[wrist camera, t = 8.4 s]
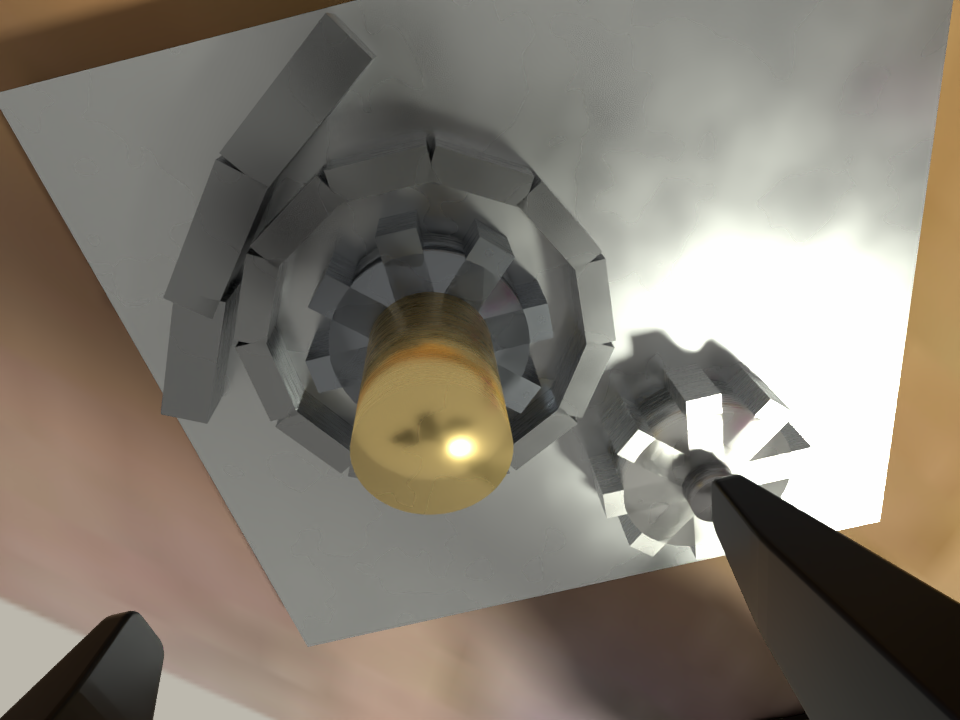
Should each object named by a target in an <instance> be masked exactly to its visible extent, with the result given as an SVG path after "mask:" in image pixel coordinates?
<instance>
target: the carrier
mask: <svg viewBox="0 0 960 720" xmlns="http://www.w3.org/2000/svg"><path fill="white" fill-rule="evenodd" d="M952 4H953V0H355V1H351V2H347V3H343V4H339V5H336V6H332V7H328V8H324V9H320V10H316V11H312V12H308V13H305V14H301V15H297V16H293V17H289V18H285V19H281V20H278V21H274V22H270V23H266V24H262V25H258V26H254V27H250V28H247V29H243V30H239V31H235V32H231V33H227V34H223V35H219V36H216V37H212V38H208V39H204V40H200V41H196V42H192V43H189V44H185V45H181V46H177V47H173V48H169V49H165V50H161V51H158V52H154V53H150V54H146V55H142V56H138V57H134V58H130V59H127V60H123V61H119V62H115V63H111V64H107V65H103V66H100V67H96V68H92V69H88V70H84V71H80V72H76V73H72V74H69V75H65V76H61V77H57V78H53V79H49V80H45V81H41V82H38V83H34V84H30V85H26V86H22V87H18V88H14V89H11V90H7V91H3V92H0V109H1V111H2V112H3V114H4V116H5V118H6V119H7V121H8V123H9V125H10V126H11V128H12V130H13V132H14V133H15V135H16V137H17V139H18V140H19V142H20V144H21V146H22V147H23V149H24V151H25V153H26V154H27V156H28V158H29V160H30V161H31V163H32V165H33V167H34V168H35V170H36V172H37V174H38V175H39V177H40V179H41V181H42V182H43V184H44V186H45V188H46V189H47V191H48V193H49V195H50V196H51V198H52V200H53V202H54V203H55V205H56V207H57V209H58V210H59V212H60V214H61V216H62V217H63V219H64V221H65V223H66V224H67V226H68V228H69V230H70V231H71V233H72V235H73V237H74V238H75V240H76V242H77V244H78V245H79V247H80V249H81V251H82V252H83V254H84V256H85V258H86V259H87V261H88V263H89V265H90V266H91V268H92V270H93V272H94V273H95V275H96V277H97V279H98V280H99V282H100V284H101V286H102V287H103V289H104V291H105V293H106V294H107V296H108V298H109V300H110V301H111V303H112V305H113V307H114V308H115V310H116V312H117V314H118V315H119V317H120V319H121V321H122V322H123V324H124V326H125V328H126V329H127V331H128V333H129V335H130V336H131V338H132V340H133V342H134V343H135V345H136V347H137V349H138V350H139V352H140V354H141V356H142V357H143V359H144V361H145V363H146V364H147V366H148V368H149V370H150V371H151V373H152V375H153V377H154V378H155V380H156V382H157V384H158V385H159V387H160V389H161V391H162V392H163V398H162V407H161V414H162V415H167V416H172V417H176V418H177V419H178V420H179V422H180V424H181V426H182V427H183V429H184V431H185V433H186V434H187V436H188V438H189V440H190V441H191V443H192V445H193V447H194V448H195V450H196V452H197V454H198V455H199V457H200V459H201V461H202V462H203V464H204V466H205V468H206V469H207V471H208V473H209V475H210V476H211V478H212V480H213V482H214V483H215V485H216V487H217V489H218V490H219V492H220V494H221V496H222V497H223V499H224V501H225V503H226V504H227V506H228V508H229V510H230V511H231V513H232V515H233V517H234V518H235V520H236V522H237V524H238V525H239V527H240V529H241V531H242V532H243V534H244V536H245V538H246V539H247V541H248V543H249V545H250V546H251V548H252V550H253V552H254V553H255V555H256V557H257V559H258V560H259V562H260V564H261V566H262V567H263V569H264V571H265V573H266V574H267V576H268V578H269V580H270V581H271V583H272V585H273V587H274V588H275V590H276V592H277V594H278V595H279V597H280V599H281V601H282V602H283V604H284V606H285V608H286V609H287V611H288V613H289V615H290V616H291V618H292V620H293V622H294V623H295V625H296V627H297V629H298V630H299V632H300V634H301V636H302V637H303V639H304V641H305V643H306V644H307V646H308V647H309V646H314V645H318V644H323V643H327V642H332V641H336V640H341V639H346V638H350V637H355V636H359V635H364V634H368V633H373V632H377V631H382V630H387V629H391V628H396V627H400V626H405V625H409V624H414V623H418V622H423V621H428V620H432V619H437V618H441V617H446V616H450V615H455V614H459V613H464V612H469V611H473V610H478V609H482V608H487V607H491V606H496V605H500V604H505V603H510V602H514V601H519V600H523V599H528V598H532V597H537V596H541V595H546V594H551V593H555V592H560V591H564V590H569V589H573V588H578V587H582V586H587V585H591V584H596V583H601V582H605V581H610V580H614V579H619V578H623V577H628V576H632V575H637V574H642V573H646V572H651V571H655V570H660V569H664V568H669V567H673V566H678V565H683V564H687V563H692V562H696V561H701V560H705V559H710V558H714V557H719V556H724V555H725V553H724V551H723V548H722V546H721V544H720V542H719V539H718V537H717V535H716V532H715V529H714V525H713V521H712V503H711V484H712V481H713V480H714V479H716V478H720V477H725V476H729V475H734V474H739V475H743V476H745V477H746V478H748V479H750V480H751V481H753V482H755V483H756V484H758V485H760V486H762V487H763V488H765V489H767V490H768V491H770V492H772V493H773V494H775V495H777V496H779V497H780V498H782V499H784V500H785V501H787V502H789V503H790V504H792V505H794V506H796V507H797V508H799V509H801V510H802V511H804V512H806V513H807V514H809V515H811V516H813V517H814V518H816V519H818V520H819V521H821V522H823V523H824V524H826V525H828V526H829V527H831V528H833V529H835V530H836V531H837V530H842V529H846V528H851V527H856V526H860V525H865V524H869V523H874V522H878V521H880V515H881V508H882V501H883V494H884V487H885V480H886V473H887V466H888V458H889V451H890V444H891V437H892V430H893V423H894V416H895V409H896V402H897V395H898V387H899V380H900V373H901V366H902V359H903V352H904V345H905V338H906V331H907V324H908V316H909V309H910V302H911V295H912V288H913V281H914V274H915V267H916V260H917V253H918V245H919V238H920V231H921V224H922V217H923V210H924V203H925V196H926V189H927V182H928V174H929V167H930V160H931V153H932V146H933V139H934V132H935V125H936V118H937V111H938V103H939V96H940V89H941V82H942V75H943V68H944V61H945V54H946V47H947V40H948V32H949V25H950V18H951V11H952ZM412 210H417V212H418V216H419V219H420V223H421V227H422V230H423V234H425V233H433V234H444V235H449V236H454V237H457V238H460V239H462V238H463V237H464V235H465V234H466V232H467V230H468V229H469V227H470V226H471V224H472V222H473V221H474V219H475V218H476V219H477V220H479V221H481V222H482V223H484V224H486V225H487V226H489V227H491V228H492V229H494V230H496V231H497V232H499V233H500V234H502V235H504V236H505V237H507V239H508V242H509V244H510V247H511V249H512V252H513V254H514V257H515V258H514V259H513V261H512V262H511V264H510V265H509V266H508V268H507V269H506V272H507V273H508V275H509V277H510V278H511V280H512V282H513V284H514V286H516V285H521V284H525V283H529V282H533V281H538V283H539V285H540V287H541V290H542V292H543V294H544V296H545V299H546V301H547V303H548V308H549V313H550V319H551V324H552V329H553V335H554V338H550V339H546V340H541V341H537V342H533V343H530V349H529V355H528V357H529V358H531V359H532V360H533V363H534V366H535V369H536V372H537V375H538V378H539V381H540V384H541V388H540V389H539V391H538V392H537V393H536V395H535V396H534V397H533V399H532V400H531V401H530V403H529V404H528V405H527V406H526V408H525V409H524V410H523V412H522V413H519V412H517V411H515V410H513V409H511V408H508V407H506V410H507V414H508V419H509V423H510V428H511V433H512V438H513V457H512V461H511V464H510V468H509V470H508V472H507V474H506V476H505V477H504V479H503V480H502V482H501V483H500V484H499V485H498V487H497V488H496V489H495V490H494V491H493V492H491V493H490V494H489V495H488V496H487V497H485V498H484V499H482V500H481V501H479V502H477V503H475V504H474V505H472V506H469V507H467V508H464V509H462V510H458V511H455V512H450V513H445V514H435V515H425V514H415V513H409V512H405V511H401V510H398V509H396V508H393V507H391V506H389V505H386V504H384V503H383V502H381V501H380V500H378V499H376V498H375V497H374V496H373V495H372V494H370V493H369V492H368V491H367V490H366V489H365V488H364V487H363V485H362V484H361V482H360V481H359V480H358V478H357V476H356V474H355V472H354V470H353V466H352V463H351V458H350V443H351V437H352V432H353V426H354V420H355V415H356V409H357V404H356V403H355V402H354V401H353V400H352V399H351V398H350V397H349V396H348V395H347V393H346V392H345V391H344V389H343V388H338V389H334V390H330V391H326V392H322V393H318V390H317V388H316V386H315V383H314V381H313V379H312V376H311V374H310V372H309V369H308V367H307V364H306V362H305V360H306V358H307V355H308V352H309V349H310V346H311V344H312V341H313V338H314V335H315V334H317V333H321V332H325V331H329V330H330V325H331V321H332V319H330V318H328V317H326V316H324V315H322V314H320V313H318V312H316V311H314V310H312V309H310V308H308V305H309V303H310V300H311V298H312V296H313V293H314V291H315V288H316V286H317V283H318V282H319V280H320V278H321V276H322V274H323V272H324V270H325V269H326V267H327V265H328V263H329V261H330V259H331V257H332V256H333V254H334V253H335V254H337V255H339V256H341V257H343V258H345V259H347V260H348V261H350V262H352V263H354V264H356V265H357V264H358V263H359V262H360V260H361V259H363V258H364V257H365V256H366V255H367V254H369V253H370V252H371V251H373V250H374V249H376V248H377V247H378V246H377V243H376V240H375V234H376V230H377V226H378V221H379V219H380V218H384V217H388V216H392V215H396V214H400V213H404V212H408V211H412Z"/></svg>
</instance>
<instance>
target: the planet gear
mask: <svg viewBox="0 0 960 720" xmlns="http://www.w3.org/2000/svg"><path fill="white" fill-rule="evenodd" d="M375 240H376V243H377V246H378V247H377V248H376V249H374V250H373V251H371V252H370V253H369V254H367V255H366V256H365V257H364V258H363V259H361V260H360V262H359V263H358V264H357V265H356V264H354V263H352V262H350V261H348V260H347V259H345V258H343V257H341V256H339V255H337V254H335V253H334V254H333V256H332V257H331V259H330V261H329V263H328V265H327V267H326V269H325V270H324V272H323V274H322V276H321V278H320V280H319V282H318V283H317V286H316V288H315V291H314V293H313V296H312V298H311V300H310V303H309V305H308V308H310V309H312V310H314V311H316V312H318V313H320V314H322V315H324V316H326V317H328V318H330V319H332V321H331V325H330V330H329V331H325V332H321V333H317V334H315V335H314V338H313V341H312V344H311V346H310V349H309V352H308V355H307V358H306V360H305V362H306V364H307V367H308V369H309V372H310V374H311V376H312V379H313V381H314V383H315V386H316V388H317V390H318V393H322V392H326V391H330V390H334V389H338V388H343V389H344V391H345V392H346V393H347V395H348V396H349V397H350V398H351V399H352V400H353V401H354V402H355V403H356V404H357V409H356V415H355V420H354V426H353V432H352V437H351V443H350V458H351V463H352V466H353V470H354V472H355V474H356V476H357V478H358V480H359V481H360V482H361V484H362V485H363V487H364V488H365V489H366V490H367V491H368V492H369V493H370V494H372V495H373V496H374V497H375V498H376V499H378V500H380V501H381V502H383V503H384V504H386V505H389V506H391V507H393V508H396V509H398V510H401V511H405V512H409V513H415V514H425V515H435V514H445V513H450V512H455V511H458V510H462V509H464V508H467V507H469V506H472V505H474V504H475V503H477V502H479V501H481V500H482V499H484V498H485V497H487V496H488V495H489V494H490V493H491V492H493V491H494V490H495V489H496V488H497V487H498V485H499V484H500V483H501V482H502V480H503V479H504V477H505V476H506V474H507V472H508V470H509V468H510V464H511V461H512V457H513V438H512V433H511V428H510V423H509V419H508V414H507V410H506V407H508V408H511V409H513V410H515V411H517V412H519V413H522V412H523V410H524V409H525V408H526V406H527V405H528V404H529V403H530V401H531V400H532V399H533V397H534V396H535V395H536V393H537V392H538V391H539V389H540V388H541V384H540V381H539V378H538V375H537V372H536V369H535V366H534V363H533V360H532V359H531V358H529V357H528V355H529V349H530V343H533V342H537V341H541V340H546V339H550V338H554V335H553V329H552V324H551V319H550V313H549V308H548V303H547V301H546V299H545V296H544V294H543V292H542V290H541V287H540V285H539V283H538V281H533V282H529V283H525V284H521V285H516V286H514V284H513V282H512V280H511V278H510V277H509V275H508V273H507V272H506V269H507V268H508V266H509V265H510V264H511V262H512V261H513V259H514V258H515V257H514V254H513V252H512V249H511V247H510V244H509V242H508V239H507V237H505V236H504V235H502V234H500V233H499V232H497V231H496V230H494V229H492V228H491V227H489V226H487V225H486V224H484V223H482V222H481V221H479V220H477V219H476V218H475V219H474V221H473V222H472V224H471V226H470V227H469V229H468V230H467V232H466V234H465V235H464V237H463V238H462V239H460V238H457V237H454V236H449V235H444V234H433V233H425V234H423V230H422V227H421V223H420V219H419V216H418V212H417V210H412V211H408V212H404V213H400V214H396V215H392V216H388V217H384V218H380V219H379V221H378V226H377V230H376V234H375Z"/></svg>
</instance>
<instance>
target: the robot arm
mask: <svg viewBox="0 0 960 720" xmlns="http://www.w3.org/2000/svg"><path fill="white" fill-rule="evenodd" d="M711 503H712V521H713V525H714V529H715V532H716V535H717V537H718V539H719V542H720V544H721V546H722V548H723V551H724V553H725V555H726V557H727V560H728V562H729V564H730V567H731V569H732V571H733V573H734V576H735V578H736V580H737V583H738V585H739V587H740V589H741V592H742V594H743V596H744V598H745V601H746V603H747V605H748V608H749V610H750V612H751V614H752V616H753V619H754V621H755V623H756V625H757V627H758V629H759V631H760V633H761V635H762V637H763V639H764V640H765V642H766V644H767V646H768V648H769V649H770V651H771V653H772V655H773V656H774V658H775V660H776V661H777V663H778V665H779V667H780V668H781V670H782V672H783V674H784V675H785V677H786V679H787V681H788V682H789V684H790V686H791V688H792V689H793V691H794V693H795V694H796V696H797V698H798V700H799V701H800V703H801V705H802V707H803V708H804V710H805V712H806V714H802V715H797V716H793V717H788V718H783V719H778V720H960V603H959V602H957V601H955V600H953V599H952V598H950V597H948V596H947V595H945V594H943V593H942V592H940V591H938V590H936V589H935V588H933V587H931V586H930V585H928V584H926V583H925V582H923V581H921V580H919V579H918V578H916V577H914V576H913V575H911V574H909V573H908V572H906V571H904V570H902V569H901V568H899V567H897V566H896V565H894V564H892V563H891V562H889V561H887V560H886V559H884V558H882V557H880V556H879V555H877V554H875V553H874V552H872V551H870V550H869V549H867V548H865V547H863V546H862V545H860V544H858V543H857V542H855V541H853V540H852V539H850V538H848V537H846V536H845V535H843V534H841V533H840V532H838V531H836V530H835V529H833V528H831V527H829V526H828V525H826V524H824V523H823V522H821V521H819V520H818V519H816V518H814V517H813V516H811V515H809V514H807V513H806V512H804V511H802V510H801V509H799V508H797V507H796V506H794V505H792V504H790V503H789V502H787V501H785V500H784V499H782V498H780V497H779V496H777V495H775V494H773V493H772V492H770V491H768V490H767V489H765V488H763V487H762V486H760V485H758V484H756V483H755V482H753V481H751V480H750V479H748V478H746V477H745V476H743V475H739V474H734V475H729V476H725V477H720V478H716V479H714V480H713V481H712V484H711ZM163 659H164V650H163V645H162V643H161V641H160V639H159V638H158V637H157V635H156V634H155V633H154V631H153V630H152V629H151V627H150V626H149V625H148V623H147V622H146V621H145V620H144V618H143V617H142V616H141V615H140V614H139V613H138V612H135V611H128V612H123V613H119V614H115V615H111V616H108V617H106V618H105V619H104V620H102V621H101V622H100V623H99V624H98V625H97V626H96V627H95V628H94V629H93V630H92V631H91V632H90V633H89V634H88V635H87V636H86V637H85V638H84V639H83V640H82V641H80V642H79V643H78V644H77V645H76V646H75V647H74V648H73V649H72V650H71V651H70V652H69V653H68V654H67V655H66V656H65V657H64V658H63V659H62V660H61V661H60V662H59V663H57V665H55V666H54V667H53V668H52V669H51V670H50V671H49V672H48V673H47V674H46V675H45V676H44V677H43V678H42V679H41V680H40V681H39V682H38V683H37V684H36V685H35V686H33V687H32V688H31V690H30V691H28V692H27V693H26V694H25V695H24V696H23V697H22V698H21V699H20V700H19V701H18V702H17V703H16V704H15V705H14V706H13V707H12V708H10V709H9V710H8V711H7V712H6V713H5V714H4V715H3V716H2V717H1V718H0V720H153V716H154V710H155V705H156V699H157V693H158V687H159V682H160V676H161V671H162V665H163Z"/></svg>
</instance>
